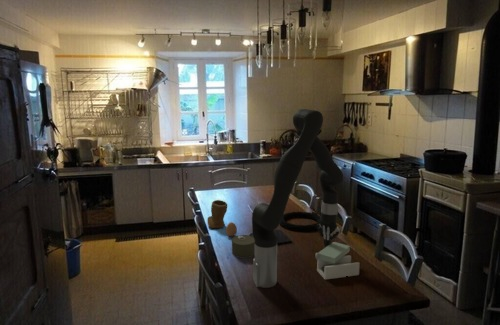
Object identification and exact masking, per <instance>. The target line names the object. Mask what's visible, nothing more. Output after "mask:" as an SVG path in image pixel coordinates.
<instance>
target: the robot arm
mask: <svg viewBox="0 0 500 325" xmlns="http://www.w3.org/2000/svg"><path fill="white" fill-rule="evenodd" d="M323 122H324V117H323V114H322V112H321V111H318V110H313V109H305V108H304V109H303V108H302V109H298V110H296V112H294V114H293V117H292V123H293V124H292V125H293V127H294V128H295V130H296V131H297V133H298V134H299V137H298V139H297V141H296V142H295V143H294V144H293V145H292V146H290V148H288V149H287V150H286V151H285V152H284V154H282V155H281V157H280V159H279V161H278V164H277V166H276V168H275V171H274V176H273V177H274V178H273V179H274V180H273V194H272V197H271V199H270V202H269V204H268V203H265V202H264V203H263V202H261V203H258V204H257V205H256V206H255V207H254V208H253V211H252V215H251V227H252V230H251V231H252V236H253V237H254V240H255V255H254V258H253V259H252V281H253V282H254V285H255V286H256V288H264V289H268V288H269V289H270V288H273V287H274V286H276V284H277V282H278V281H277V278H278V274H277V272H278V236H277V235H276V233H275V231H274V230H276V229H278V227H279V226H280V222H281V220H282V217H283V214H285V211H286V208H287V205H288V204H287V203H288V201H289V198H290V196H291V194H292V192H293V188H294V185H295V184H296V181H297V180H298V177H299V175H300V173H301V170H302V168H303V165H304V163H305V161H306V158H307V156H308V154H309V152H311V154H312V156H313V158H314V161H315V163H316V164H317V167H318V168H319V169H320V173H319V182H320V188H321V192H322V198H321V206H320V217H321V222H320V224H318V225H316V228H317V231H318V233H319V234H318V235H319V236H320V237H321V238H323V245H324V248H326V247H327V246H328V245H330V244H331V243H332V241H333V240H335V239H336V238H337V237H338V236H339V235H340V234H341V233H342V231H341V229H340V230H339V229H338V225H337V223H338V212H339V205H338V203H339V192H338V190H337V189H335V188H334V187H333V186H335V187H336V186H337V187H338V186H340V185H341V184H342V183H343V181H344V174H343V171H342V170H341V168H340V167H339V166H338V164H336V162H335V161H334V160H333V157H332V154H331V152H330V150H329V148H328V147H327V145H326V144H324V142H323V141H322V140H321V139H320V138H319V137H318V135H319V133H320V131H321V129H322V126H323Z"/></svg>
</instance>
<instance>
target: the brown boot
mask: <svg viewBox="0 0 500 325" xmlns="http://www.w3.org/2000/svg"><path fill="white" fill-rule="evenodd" d="M210 207H211V209H210V212H211V215H210V216H208V217H207V218H206V219H207V226H208V227H209V228H211V229H219V228H223V227H224V226H225V220H224V218H225V215H226V213H227V211H228V210H227V209H228V203H227V202H226V201H224V200H220V199H215V200H214V201H212V202H211V206H210Z"/></svg>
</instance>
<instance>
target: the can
mask: <svg viewBox="0 0 500 325" xmlns="http://www.w3.org/2000/svg"><path fill="white" fill-rule="evenodd" d="M231 254H232V255H233V256H234V257H237V258H240V257H241V258H242V259H244V258H245V259H246V258H252V257H254V256H255V240H254V237H253V235H248V234H240V235H236V236H235V235H234V236H232V238H231ZM241 258H240V259H241Z"/></svg>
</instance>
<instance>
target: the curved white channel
mask: <svg viewBox="0 0 500 325" xmlns="http://www.w3.org/2000/svg"><path fill="white" fill-rule="evenodd" d="M316 262H317V263H316V264H317V266H316V271H317V272H318V274H320V276H321V277H322V278H323V279H324V280H331V279H339V278H340V279H341V278H347V277H346V276H348V277H353V276H354V277H355V276H359V275H360V264H361V263H360V262H359V261H357V262H352V256H351V255H344V256H343V257H342V258H341V259H339V260H338V261H337V262H336V263H335V264H333V263H330V262H327V261H324V260H321V259H316Z"/></svg>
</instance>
